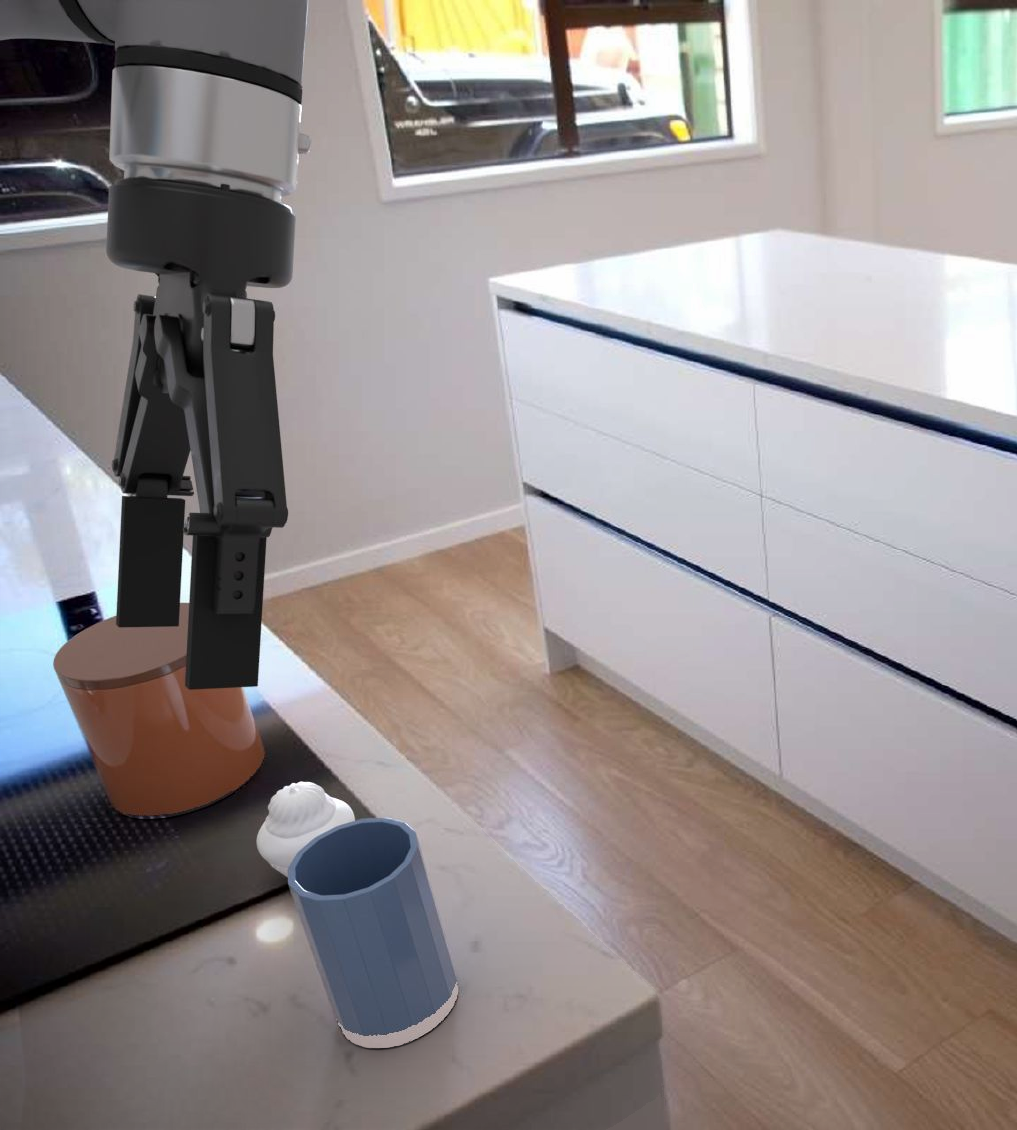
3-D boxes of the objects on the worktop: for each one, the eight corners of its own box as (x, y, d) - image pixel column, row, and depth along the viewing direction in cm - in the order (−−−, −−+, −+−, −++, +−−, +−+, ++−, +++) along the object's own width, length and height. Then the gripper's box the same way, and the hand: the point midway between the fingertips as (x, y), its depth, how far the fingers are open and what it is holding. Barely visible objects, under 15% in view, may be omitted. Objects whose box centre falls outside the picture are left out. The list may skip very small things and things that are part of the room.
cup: (341, 1066, 71) (288, 915, 66) (336, 984, 77) (286, 839, 72) (465, 1024, 74) (422, 875, 69) (451, 947, 79) (411, 804, 74)
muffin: (263, 866, 88) (233, 783, 84) (353, 830, 90) (328, 748, 87) (282, 916, 83) (252, 830, 80) (377, 876, 86) (351, 792, 83)
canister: (102, 837, 92) (41, 696, 86) (117, 756, 101) (63, 624, 96) (265, 793, 95) (217, 654, 90) (265, 719, 104) (222, 589, 99)
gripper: (393, 187, 51) (357, 712, 53) (219, 218, 69) (198, 605, 72) (185, 145, 46) (155, 725, 48) (58, 190, 65) (42, 606, 67)
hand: (181, 654), depth 60 cm, fingers open, 13 cm apart
